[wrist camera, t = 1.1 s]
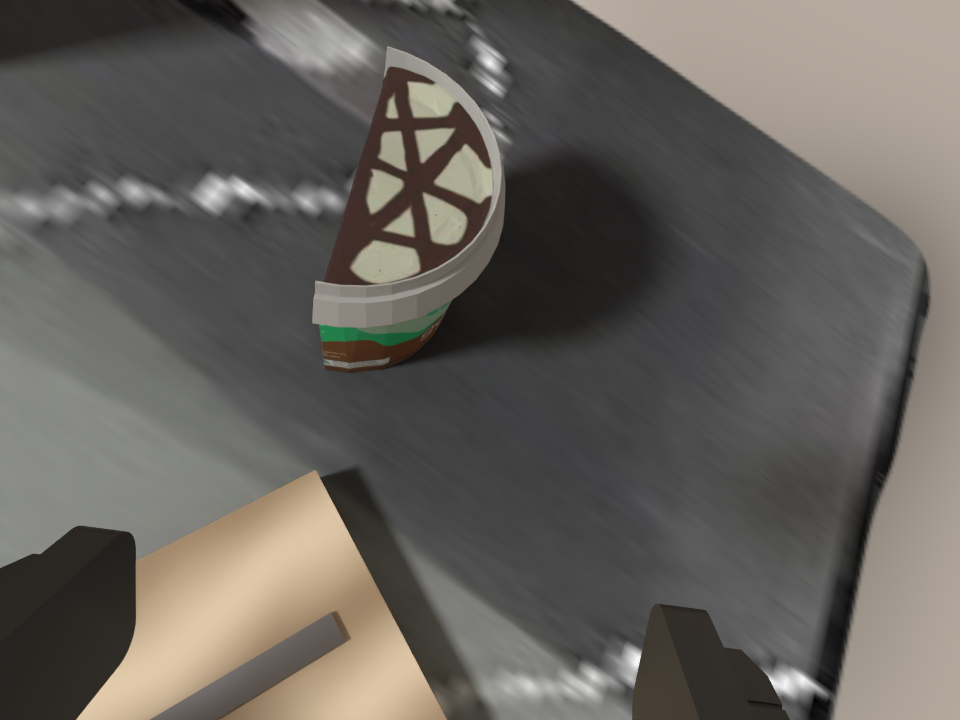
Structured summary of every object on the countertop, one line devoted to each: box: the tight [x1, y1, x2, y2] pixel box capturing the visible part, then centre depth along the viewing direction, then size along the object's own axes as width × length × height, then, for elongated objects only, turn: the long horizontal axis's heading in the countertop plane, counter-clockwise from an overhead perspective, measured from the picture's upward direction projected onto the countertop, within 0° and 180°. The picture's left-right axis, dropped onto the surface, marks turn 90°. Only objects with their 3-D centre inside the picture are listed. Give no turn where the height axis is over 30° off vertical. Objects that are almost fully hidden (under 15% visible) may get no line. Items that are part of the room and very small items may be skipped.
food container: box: [312, 46, 505, 373], centre depth 31 cm, size 12×6×10 cm, turn 171°
